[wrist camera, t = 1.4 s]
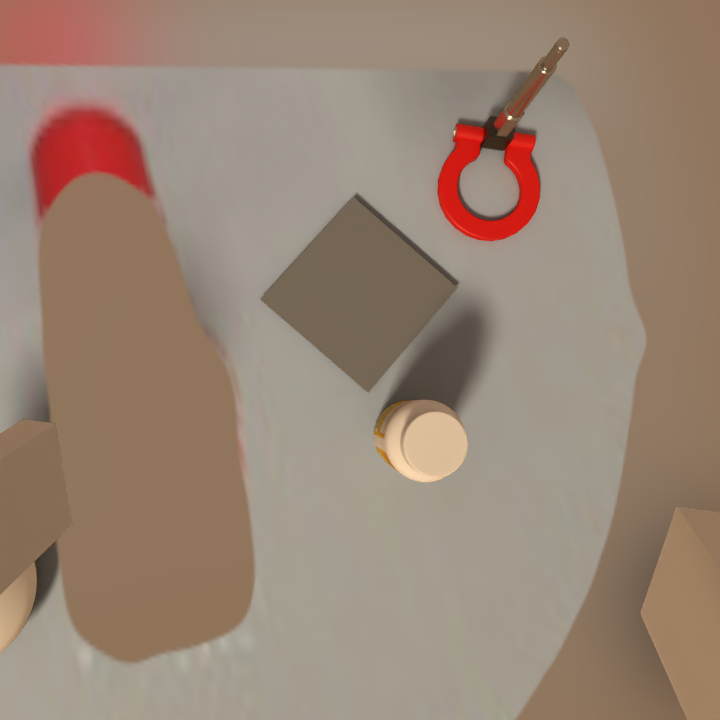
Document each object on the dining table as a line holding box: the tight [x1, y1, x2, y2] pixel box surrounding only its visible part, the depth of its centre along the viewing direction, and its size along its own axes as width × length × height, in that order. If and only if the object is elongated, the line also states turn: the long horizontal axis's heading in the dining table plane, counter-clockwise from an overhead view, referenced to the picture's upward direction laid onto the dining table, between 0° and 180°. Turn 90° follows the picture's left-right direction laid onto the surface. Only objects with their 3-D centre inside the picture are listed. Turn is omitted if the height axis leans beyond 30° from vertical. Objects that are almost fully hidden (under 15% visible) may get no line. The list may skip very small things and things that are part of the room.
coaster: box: [261, 197, 457, 392], centre depth 41 cm, size 11×11×1 cm
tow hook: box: [438, 38, 569, 241], centre depth 37 cm, size 8×13×9 cm
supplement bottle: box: [374, 399, 468, 482], centre depth 36 cm, size 5×5×10 cm
